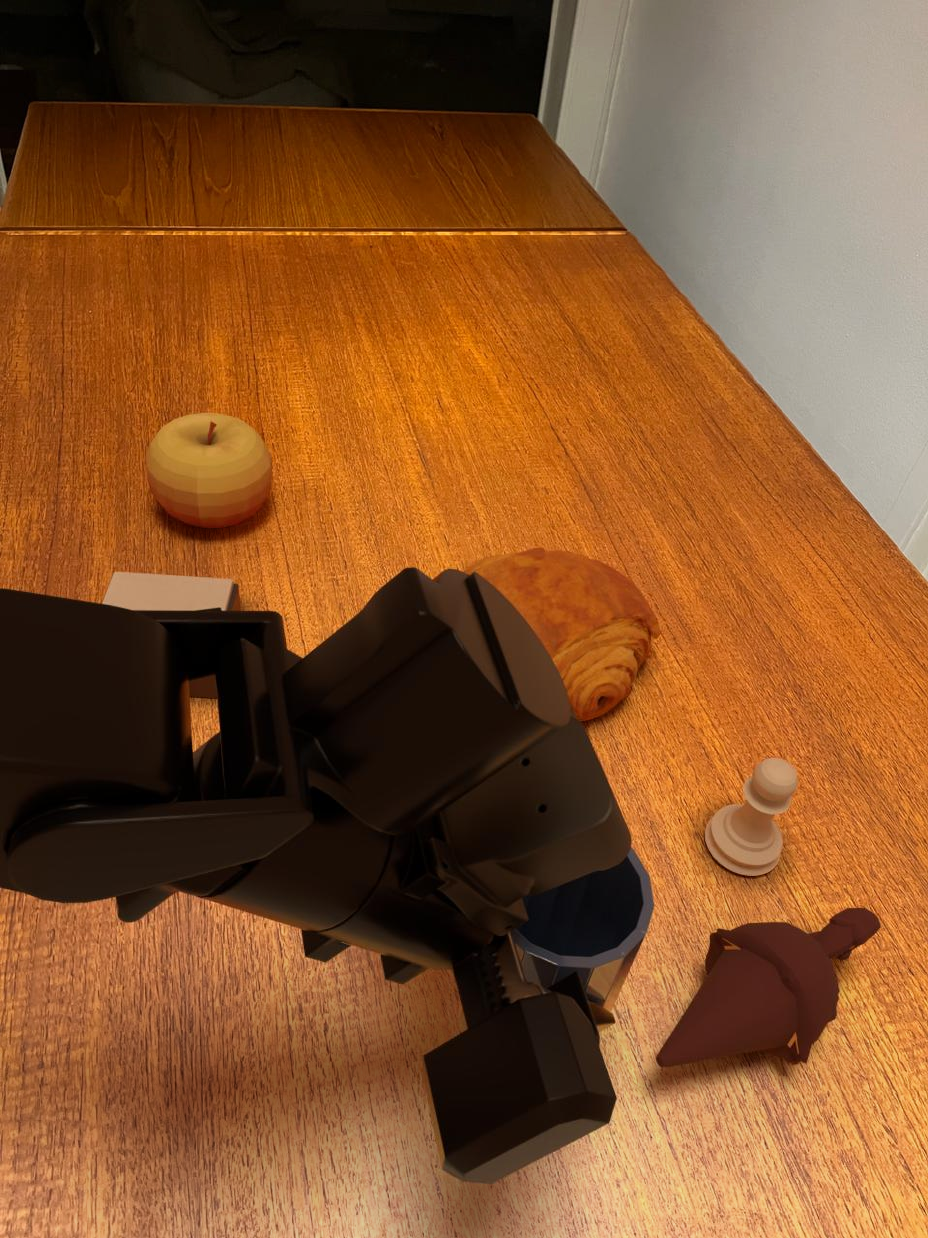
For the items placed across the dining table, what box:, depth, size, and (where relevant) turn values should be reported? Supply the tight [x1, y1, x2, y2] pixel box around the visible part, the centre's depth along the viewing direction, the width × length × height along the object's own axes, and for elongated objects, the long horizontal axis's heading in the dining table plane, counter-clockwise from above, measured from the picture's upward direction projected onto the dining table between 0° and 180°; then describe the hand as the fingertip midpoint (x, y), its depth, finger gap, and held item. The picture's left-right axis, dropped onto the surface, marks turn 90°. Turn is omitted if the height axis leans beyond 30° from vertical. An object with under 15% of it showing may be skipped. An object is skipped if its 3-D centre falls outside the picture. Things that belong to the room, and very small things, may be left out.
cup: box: [457, 846, 655, 1037], centre depth 44 cm, size 7×7×12 cm
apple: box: [145, 412, 274, 529], centre depth 77 cm, size 10×10×8 cm
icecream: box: [655, 907, 882, 1069], centre depth 50 cm, size 7×7×15 cm
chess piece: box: [704, 757, 799, 877], centre depth 58 cm, size 5×5×8 cm
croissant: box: [462, 547, 661, 722], centre depth 69 cm, size 14×16×8 cm
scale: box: [100, 571, 242, 699], centre depth 67 cm, size 9×9×3 cm
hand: (578, 944), depth 44 cm, fingers closed on cup, 7 cm apart
